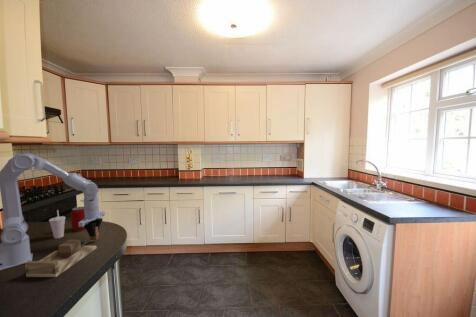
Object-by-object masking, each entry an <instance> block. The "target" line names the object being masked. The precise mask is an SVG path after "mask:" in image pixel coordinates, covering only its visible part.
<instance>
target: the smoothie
mask: <svg viewBox="0 0 476 317" xmlns="http://www.w3.org/2000/svg"><path fill="white" fill-rule="evenodd" d="M56 215H57V216H55V217H52V218H50V219H49V220H48V222H49V223H50V228H51V231H52V236H53V239H61V238H63V237H64V236H65V224H66V221H65V220H66V216H64V215H62V216H60V214H59V209H57V210H56Z"/></svg>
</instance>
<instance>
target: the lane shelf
mask: <svg viewBox="0 0 476 317" xmlns="http://www.w3.org/2000/svg"><path fill="white" fill-rule="evenodd" d="M97 248H98V247H97V245H83V246H82V247H81V251H78V252H76V253H75V254H73V255H72V256H70V257H69V258H60V257H59V250H54V251H53V252H51V253H49V254H48V255H46V256H44V257H43V258H41V259H39V260H32V261H28V262H26V263H24V266H25V267H24V269H25V276H26V277H27V278H56V277H58V276H60V275H62V274H63V273H64V272H65V271H66V270H68V269H70V268H71V267H72V266H73V265H75V264H77V263H78V262H79V261H81V260H82V259H84V258H85V257H86V256H88V255H89V254H90V253H92V252H94V251H95V250H96V249H97Z"/></svg>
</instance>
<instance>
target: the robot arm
mask: <svg viewBox="0 0 476 317" xmlns="http://www.w3.org/2000/svg"><path fill="white" fill-rule="evenodd" d="M33 167H34V168H33ZM32 168H33V170H41V171H46V172H47V173H50V174H52V175H55V176H56V177H58V178H60V179H63V181H64V184H65V185H67V186H69V187H71V188H73V189H75V190H76V191H78V192H79V191H80V192H82V193H83V207H84V212H85V218H84V219H83V220H82V221H80V222H79V223H78V227H83V226H84V227H85V230H86V231H87V234H88V237H89V236H90V237H94V236H95V227H96V226H98V233H99V230H100V226H101V224H102V222H103V217H104V216H105V215H106V212H105V211H100V205H99V203H100V202H99V197H98V196H99V194H98V193H99V187H98V185H97V184H96V183H95V182H93V181H92V180H90V179H87V178H85V177H83V176H82V174H81V173H76V172H73V173H71V172H68V171H66V170H64V169H62V168H61V167H59V166H58V165H56V164H54V163H52V162H51V161H49V160H47V159H45V158H42V157H40V156H36V155H35V154H33V153H30V152H25V153H20V154H16V155H15V156H13V157H10V159H9V160H7V162H6V164H5V165H4V166H3V167H2V168H1V169H0V198H1V204H2V212H3V224H2V225H3V226H2V233H1V235H0V240H1V243H0V271H3V270H6V269H9V268H14V267H16V266H20V265H25V263H26V262H28V261H33V255H34V253H33V252H31V244H30V236H29V234H27V231H28V229H29V224H28V223H27V222H26V221H25V218H24V215H23V211H22V204H21V197H20V195H21V194H20V188H19V182H18V177H19V176H20V175H22V174H23V173H24V172H25V171H27V170H30V169H32Z"/></svg>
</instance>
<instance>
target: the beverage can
mask: <svg viewBox="0 0 476 317" xmlns="http://www.w3.org/2000/svg"><path fill="white" fill-rule="evenodd" d="M84 218H85V212H84V206H76V207H73V208H72V209H71V211H70V219H71V220H70V222H71V230H72V231H74V232H81V231H83V230H86V228H85V227H84V226H83V227H78V223H79V222H80V221H82V220H83V219H84Z"/></svg>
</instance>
